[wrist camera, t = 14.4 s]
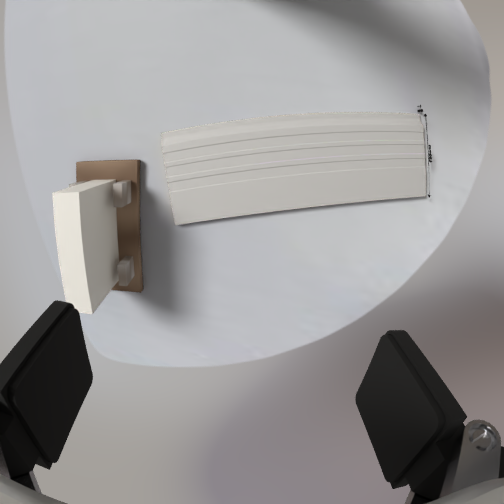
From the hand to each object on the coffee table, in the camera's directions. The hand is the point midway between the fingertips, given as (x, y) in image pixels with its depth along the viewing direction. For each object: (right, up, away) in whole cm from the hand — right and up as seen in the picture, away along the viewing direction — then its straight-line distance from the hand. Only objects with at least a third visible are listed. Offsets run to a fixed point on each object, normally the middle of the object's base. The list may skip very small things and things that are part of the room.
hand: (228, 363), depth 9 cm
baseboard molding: (+7, +14, +25) cm, 29 cm away
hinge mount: (-17, +6, +26) cm, 31 cm away
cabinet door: (-17, +6, +25) cm, 30 cm away
